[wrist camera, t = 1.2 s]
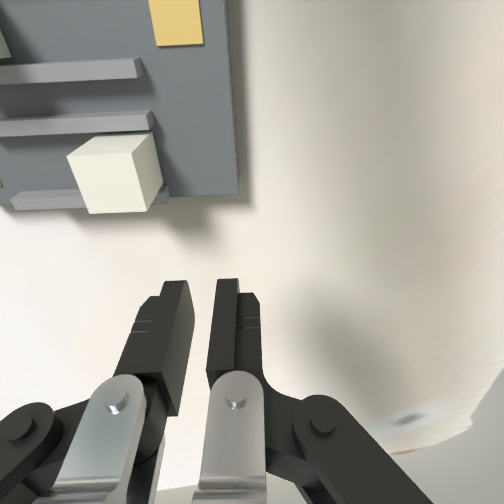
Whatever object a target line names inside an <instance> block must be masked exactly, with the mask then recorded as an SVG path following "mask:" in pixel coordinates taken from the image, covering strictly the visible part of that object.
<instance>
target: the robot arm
mask: <svg viewBox="0 0 504 504" xmlns="http://www.w3.org/2000/svg"><path fill="white" fill-rule="evenodd" d="M194 324H195V314H194V308H193V303H192V298H191V294H190V289H189V285H188V282H187V280H180V281H165V282H164V284H163V287H162V290H161V293H160V296H150V297H149V298H148V299H147V300H146V301H145V303H144V304H143V305H142V306H141V307H140V309H139V311H138V314H137V316H136V319H135V323H134V324H133V327H132V329H131V333H130V334H129V337H128V339H127V342H126V345H125V347H124V350H123V352H122V355H121V357H120V360H119V362H118V365H117V368H116V370H115V373H114V375H113V377H112V378H110V379H108V380H106V381H105V382H104V383H102V384H101V385H100V386H99V387H98V388H97V389H96V390H95V391H94V393H93V394H92V396H91V398H89V399H87V400H85V401H83V402H80V403H77V404H74V405H71V406H68V407H65V408H62V409H59V410H56V411H53V410H52V408H51V407H50V406H49V405H47V404H45V403H41V402H35V403H30V404H27V405H24V406H22V407H20V408H18V409H16V410H15V411H13V412H12V413H10V414H9V415H8V416H6V417H5V418H4V419H3V420H1V421H0V504H154V500H155V495H156V489H157V484H158V479H159V474H160V468H161V463H162V458H163V452H164V447H165V434H164V430H165V425H166V420H167V417H171V416H178V413H179V407H180V402H181V396H182V391H183V385H184V380H185V374H186V369H187V364H188V358H189V353H190V347H191V342H192V336H193V331H194ZM206 373H207V378H208V382H209V387H210V391H211V392H210V398H209V406H208V415H207V423H206V431H205V439H204V448H203V456H202V464H201V472H200V479H199V484H198V487H197V488H196V490H195V492H194V495H193V498H192V503H191V504H267V490H266V472H268V473H270V474H273V475H276V476H278V477H281V478H283V479H286V480H288V481H291V482H293V483H295V485H296V487H297V488H298V490H299V492H300V493H301V495H302V496H303V498H304V499H305V501H306V502H307V504H433V503H432V502H431V501H430V499H429V498H427V496H426V495H425V494H424V493H423V492H422V491H421V490H420V489H419V488H418V486H417V485H416V484H415V483H414V482H413V481H412V480H411V479H410V478H409V477H408V476H407V475H406V474H405V472H404V471H403V470H402V469H401V468H400V467H399V466H398V465H397V464H396V463H395V462H394V461H393V460H392V458H391V457H390V456H389V455H388V454H387V453H386V452H385V451H384V450H383V449H382V448H381V446H380V445H379V444H378V443H377V442H376V441H375V440H374V439H373V438H372V437H371V436H370V435H369V433H368V432H367V431H366V430H365V429H364V428H363V427H362V426H361V425H360V424H359V423H358V422H357V420H356V419H355V418H354V417H353V416H352V415H351V414H350V413H349V412H348V411H347V410H346V409H345V407H344V406H343V405H342V404H340V403H339V402H338V401H337V400H335V399H333V398H331V397H329V396H325V395H311V396H309V397H306V398H305V399H303V400H299V399H296V398H292V397H289V396H286V395H283V394H281V393H279V392H277V391H276V390H274V389H273V388H272V387H271V386H270V385H269V384H268V382H267V381H266V379H265V377H264V374H263V369H262V349H261V324H260V303H259V301H258V300H257V298H256V296H255V295H254V293H240V291H239V280H238V278H233V279H218V280H217V285H216V293H215V301H214V309H213V317H212V325H211V333H210V341H209V349H208V357H207V365H206Z"/></svg>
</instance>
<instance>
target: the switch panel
mask: <svg viewBox="0 0 504 504" xmlns="http://www.w3.org/2000/svg"><path fill="white" fill-rule="evenodd" d="M0 30H1V32H2V35H3V37H4V39H5V42H6V44H7V47H8V49H9V51H10V54H11V56H12V57H9V58H0V204H13V206H14V208H15V210H16V211H17V210H40V209H64V208H87V207H86V204H85V202H84V199H83V197H82V194H81V192H80V189H79V187H78V184H77V182H76V179H75V177H74V174H73V172H72V169H71V167H70V164H69V162H68V159H67V157H66V156H67V155H69V154H70V153H72V152H73V151H75V150H76V149H77V148H79V147H80V146H82V145H83V144H85V143H86V142H88V141H89V140H91V139H92V138H93V137H95V136H96V135H98V134H106V133H128V132H149V131H152V133H153V138H154V142H155V147H156V151H157V156H158V160H159V165H160V169H161V173H162V178H163V184H162V186H161V187H160V189H159V191H158V193H157V195H156V196H155V198H154V200H153V202H152V204H151V205H159V204H167V201H168V199H169V197H186V196H209V195H233V194H238V185H239V176H238V162H237V148H236V134H235V120H234V105H233V91H232V77H231V63H230V49H229V35H228V21H227V7H226V0H0Z"/></svg>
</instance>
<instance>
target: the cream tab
mask: <svg viewBox="0 0 504 504" xmlns="http://www.w3.org/2000/svg"><path fill="white" fill-rule="evenodd" d="M66 157H67V159H68V162H69V164H70V167H71V169H72V172H73V174H74V177H75V179H76V182H77V184H78V187H79V189H80V192H81V194H82V197H83V199H84V202H85V204H86V207H87V209H88V212H89V214H97V213H121V212H145V211H148V209H149V207H150V205H151V204H152V202H153V200H154V198H155V196H156V195H157V193H158V191H159V189H160V187H161V186H162V184H163V178H162V173H161V169H160V165H159V160H158V156H157V151H156V147H155V142H154V138H153V133H152V131H149V132H128V133H106V134H98V135H96V136H95V137H93V138H92V139H91V140H89V141H88V142H86V143H85V144H83V145H82V146H80V147H79V148H77V149H76V150H75V151H73V152H72V153H70V154H69V155H67V156H66Z"/></svg>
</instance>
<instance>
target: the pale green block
mask: <svg viewBox="0 0 504 504" xmlns="http://www.w3.org/2000/svg"><path fill="white" fill-rule="evenodd" d="M9 57H12V56H11V54H10V51H9V49H8V47H7V44H6V42H5V39H4V37H3V35H2V32H1V30H0V58H9Z"/></svg>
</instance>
